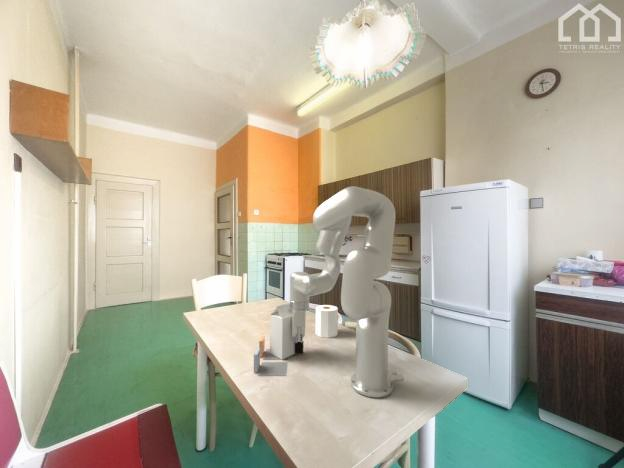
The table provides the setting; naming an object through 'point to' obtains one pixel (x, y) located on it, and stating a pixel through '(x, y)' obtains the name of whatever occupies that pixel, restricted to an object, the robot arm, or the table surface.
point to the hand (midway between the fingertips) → (299, 352)
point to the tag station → (268, 367)
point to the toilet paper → (326, 321)
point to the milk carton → (282, 332)
